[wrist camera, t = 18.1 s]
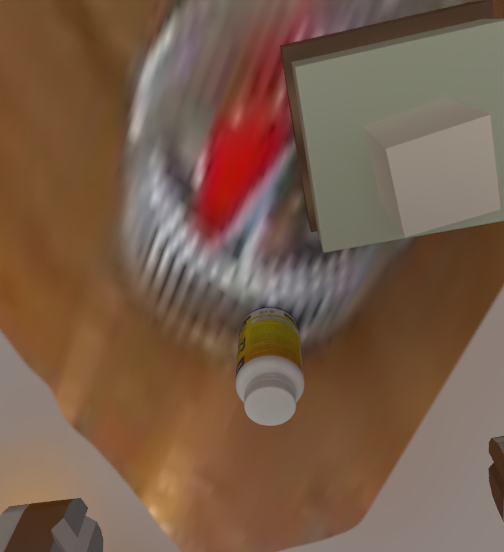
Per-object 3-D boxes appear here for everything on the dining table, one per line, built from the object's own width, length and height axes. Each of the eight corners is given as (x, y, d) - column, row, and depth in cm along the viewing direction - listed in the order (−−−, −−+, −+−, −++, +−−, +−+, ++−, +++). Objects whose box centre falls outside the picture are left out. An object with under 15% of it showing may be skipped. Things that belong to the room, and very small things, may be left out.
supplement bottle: (237, 305, 44) (231, 379, 35) (298, 303, 43) (307, 377, 34) (241, 354, 46) (235, 434, 37) (298, 353, 46) (307, 433, 37)
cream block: (363, 126, 29) (385, 149, 23) (446, 97, 28) (490, 114, 22) (380, 201, 31) (404, 237, 26) (458, 176, 30) (500, 209, 25)
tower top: (291, 62, 31) (295, 67, 27) (482, 18, 29) (512, 18, 26) (317, 230, 36) (323, 252, 33) (479, 200, 35) (504, 220, 31)
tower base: (279, 45, 34) (281, 47, 30) (466, 2, 32) (492, 0, 29) (306, 213, 40) (311, 232, 36) (466, 184, 38) (486, 200, 35)
